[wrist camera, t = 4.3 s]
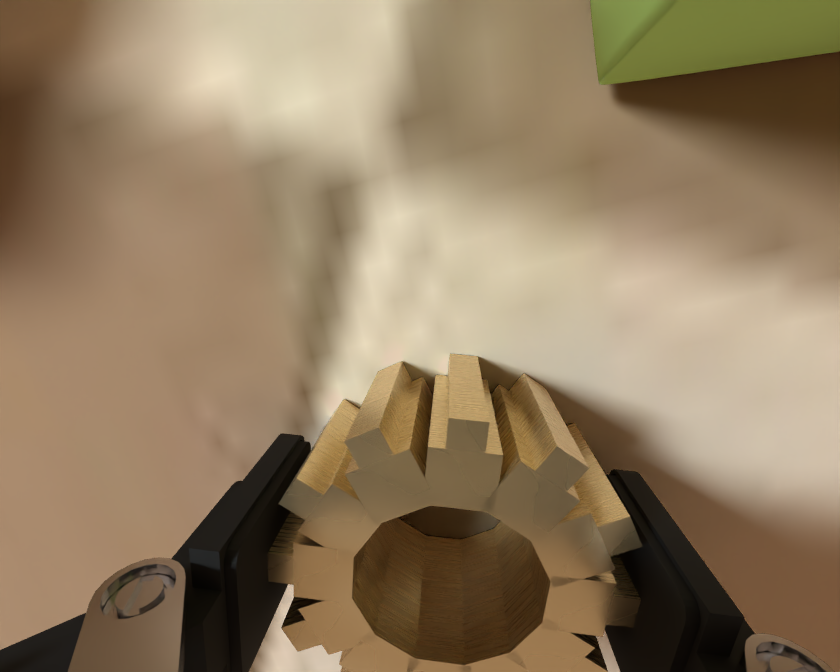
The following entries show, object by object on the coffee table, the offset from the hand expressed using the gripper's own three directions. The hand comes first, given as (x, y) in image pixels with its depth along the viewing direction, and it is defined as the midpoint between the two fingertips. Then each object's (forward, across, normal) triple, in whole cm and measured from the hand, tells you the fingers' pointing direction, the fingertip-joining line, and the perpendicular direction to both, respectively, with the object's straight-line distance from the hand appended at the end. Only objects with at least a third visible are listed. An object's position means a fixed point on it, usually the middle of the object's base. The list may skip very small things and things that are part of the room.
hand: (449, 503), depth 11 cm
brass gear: (+1, 0, 0) cm, 1 cm away
